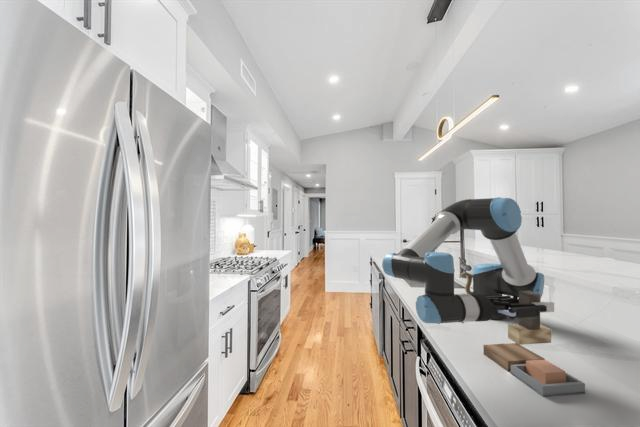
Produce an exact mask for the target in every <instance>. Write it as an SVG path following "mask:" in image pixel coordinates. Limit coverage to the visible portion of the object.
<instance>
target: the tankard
mask: <svg viewBox="0 0 640 427" xmlns="http://www.w3.org/2000/svg"><path fill="white" fill-rule="evenodd" d="M465 276H466V278H467V279H466V283H465V286H464V287H465V288H464V289H465V290H464V291H465V292H466V294H473V291H471V285H472V284H473V273H472V274H471V273H469V272H467V271H463V272H462V273H461V277H465Z"/></svg>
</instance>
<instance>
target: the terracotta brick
mask: <svg viewBox="0 0 640 427" xmlns="http://www.w3.org/2000/svg"><path fill="white" fill-rule="evenodd" d="M526 373H527V374H528V375H530V376H531V377H533V378H534V379H536V380H537V381H539V382H540V383H542V384H555V383H566V373H567V372H566V371H565V370H564V369H562V368H560V367H559V366H557V365H555V364H553V363H552V362H550V361H549V360H546V359H545V360H529V361H526Z"/></svg>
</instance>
